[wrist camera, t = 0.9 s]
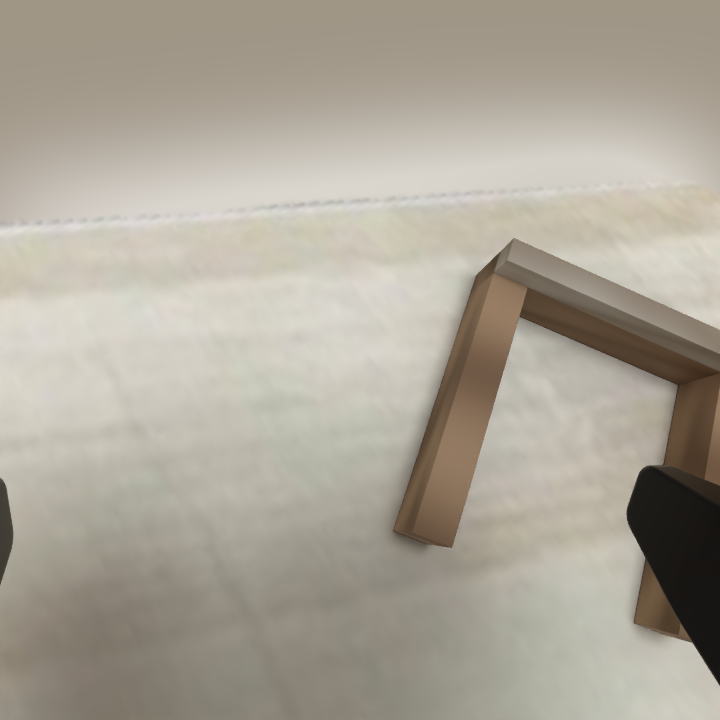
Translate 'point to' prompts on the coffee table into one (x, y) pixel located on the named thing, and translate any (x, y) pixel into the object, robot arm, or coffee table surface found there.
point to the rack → (588, 326)
